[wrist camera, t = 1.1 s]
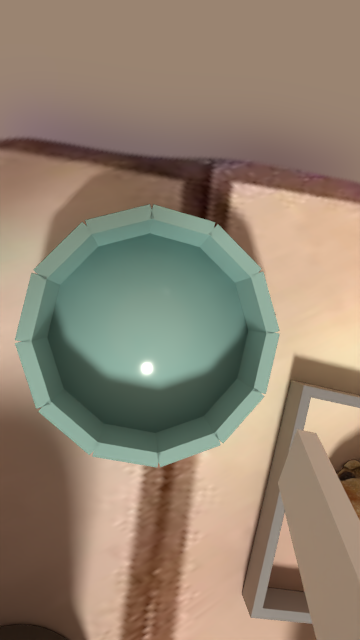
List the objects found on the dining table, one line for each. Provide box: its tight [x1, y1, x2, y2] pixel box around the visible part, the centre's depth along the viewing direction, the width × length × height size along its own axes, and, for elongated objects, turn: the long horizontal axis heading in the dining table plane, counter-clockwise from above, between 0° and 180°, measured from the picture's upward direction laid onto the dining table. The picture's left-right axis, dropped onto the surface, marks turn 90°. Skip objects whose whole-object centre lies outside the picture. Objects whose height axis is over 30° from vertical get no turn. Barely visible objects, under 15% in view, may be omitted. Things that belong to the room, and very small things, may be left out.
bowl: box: [15, 204, 279, 467], centre depth 28 cm, size 21×21×5 cm
